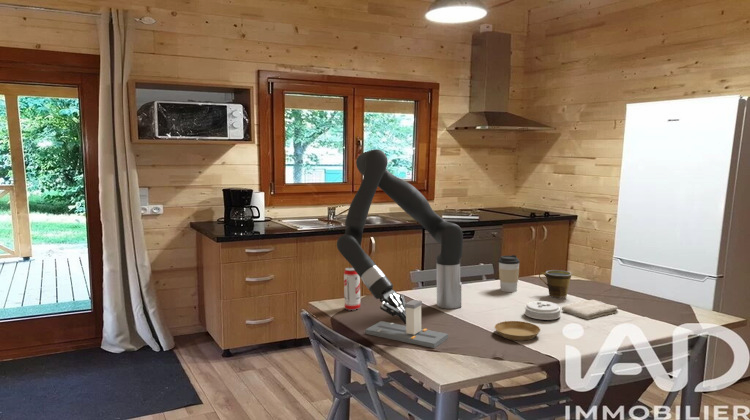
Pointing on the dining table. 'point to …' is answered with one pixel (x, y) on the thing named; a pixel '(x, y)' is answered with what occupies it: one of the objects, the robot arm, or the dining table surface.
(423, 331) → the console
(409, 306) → the fader tab
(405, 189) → the robot arm
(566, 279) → the ceramic cup
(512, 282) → the coffee cup
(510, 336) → the plant saucer
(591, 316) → the washcloth
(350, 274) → the beer can
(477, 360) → the dining table surface
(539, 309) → the lid
